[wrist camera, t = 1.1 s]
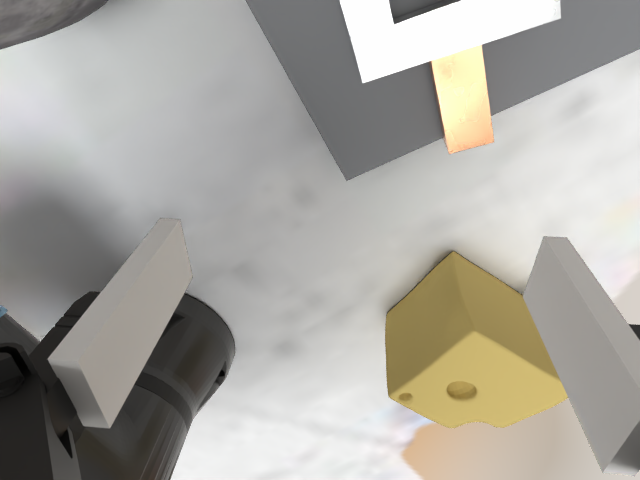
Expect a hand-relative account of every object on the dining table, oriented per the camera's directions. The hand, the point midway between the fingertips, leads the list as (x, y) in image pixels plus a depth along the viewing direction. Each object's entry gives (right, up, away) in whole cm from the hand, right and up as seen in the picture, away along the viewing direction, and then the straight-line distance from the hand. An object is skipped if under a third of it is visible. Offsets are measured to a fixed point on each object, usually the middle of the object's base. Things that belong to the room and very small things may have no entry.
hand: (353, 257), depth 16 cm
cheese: (+12, -5, +25) cm, 28 cm away
